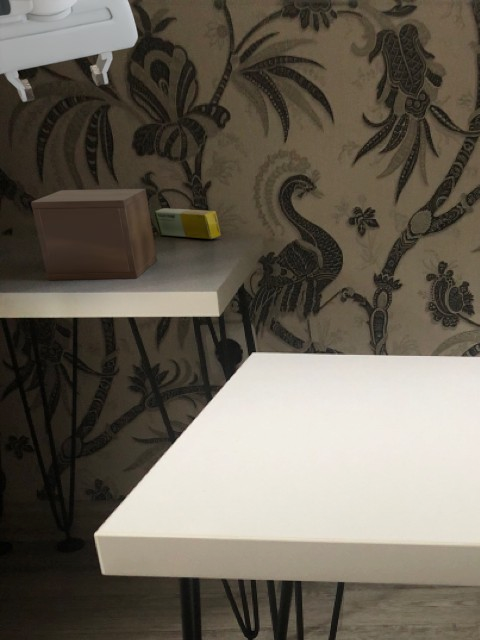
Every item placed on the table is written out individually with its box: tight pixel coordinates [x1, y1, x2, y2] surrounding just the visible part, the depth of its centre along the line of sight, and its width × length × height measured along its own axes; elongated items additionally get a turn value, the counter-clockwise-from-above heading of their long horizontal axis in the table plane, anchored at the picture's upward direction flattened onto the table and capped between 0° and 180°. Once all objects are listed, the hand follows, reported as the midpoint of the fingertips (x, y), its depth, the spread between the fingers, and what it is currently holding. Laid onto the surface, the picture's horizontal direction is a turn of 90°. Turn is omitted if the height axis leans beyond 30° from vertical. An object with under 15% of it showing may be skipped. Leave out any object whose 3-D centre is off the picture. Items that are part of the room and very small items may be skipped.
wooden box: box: [30, 188, 158, 281], centre depth 125 cm, size 14×12×10 cm
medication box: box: [154, 207, 222, 240], centre depth 151 cm, size 12×3×4 cm, turn 59°
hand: (64, 90), depth 116 cm, fingers open, 8 cm apart
